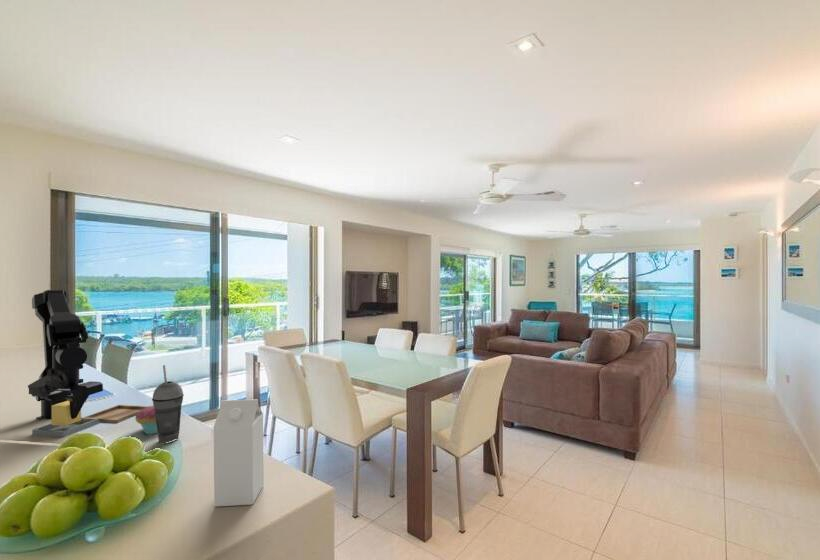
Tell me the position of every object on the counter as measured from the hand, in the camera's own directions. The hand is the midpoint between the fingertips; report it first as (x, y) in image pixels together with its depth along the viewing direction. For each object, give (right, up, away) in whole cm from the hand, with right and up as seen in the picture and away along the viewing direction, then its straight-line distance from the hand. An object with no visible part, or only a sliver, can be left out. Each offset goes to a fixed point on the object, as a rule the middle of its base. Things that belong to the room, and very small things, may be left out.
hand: (66, 418), depth 112 cm
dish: (0, -4, 0) cm, 4 cm away
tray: (+6, -4, +12) cm, 14 cm away
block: (0, -1, 0) cm, 1 cm away
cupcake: (+25, -4, -1) cm, 26 cm away
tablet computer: (-22, -5, +35) cm, 42 cm away
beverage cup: (+33, -4, -7) cm, 34 cm away
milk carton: (+64, -4, -35) cm, 73 cm away
